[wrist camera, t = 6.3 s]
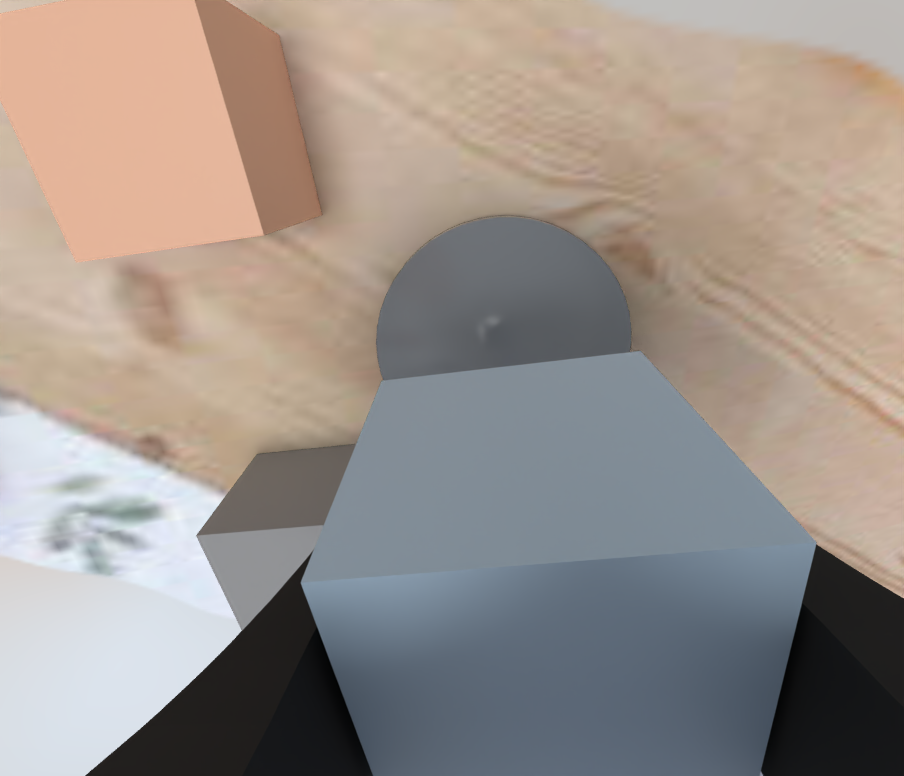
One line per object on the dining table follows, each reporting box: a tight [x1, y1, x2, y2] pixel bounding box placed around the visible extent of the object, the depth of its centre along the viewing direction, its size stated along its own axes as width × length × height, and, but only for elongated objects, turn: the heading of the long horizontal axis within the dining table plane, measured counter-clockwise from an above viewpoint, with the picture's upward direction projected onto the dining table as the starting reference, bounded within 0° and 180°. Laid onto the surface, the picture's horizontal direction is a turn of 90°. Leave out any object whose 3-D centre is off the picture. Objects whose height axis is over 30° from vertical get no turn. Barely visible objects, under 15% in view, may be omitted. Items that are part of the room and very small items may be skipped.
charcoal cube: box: [196, 444, 356, 630], centre depth 19 cm, size 5×5×5 cm
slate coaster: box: [376, 216, 631, 380], centre depth 17 cm, size 9×9×1 cm
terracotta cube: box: [0, 0, 322, 262], centre depth 13 cm, size 5×5×5 cm
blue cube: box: [301, 351, 817, 776], centre depth 8 cm, size 5×5×5 cm
